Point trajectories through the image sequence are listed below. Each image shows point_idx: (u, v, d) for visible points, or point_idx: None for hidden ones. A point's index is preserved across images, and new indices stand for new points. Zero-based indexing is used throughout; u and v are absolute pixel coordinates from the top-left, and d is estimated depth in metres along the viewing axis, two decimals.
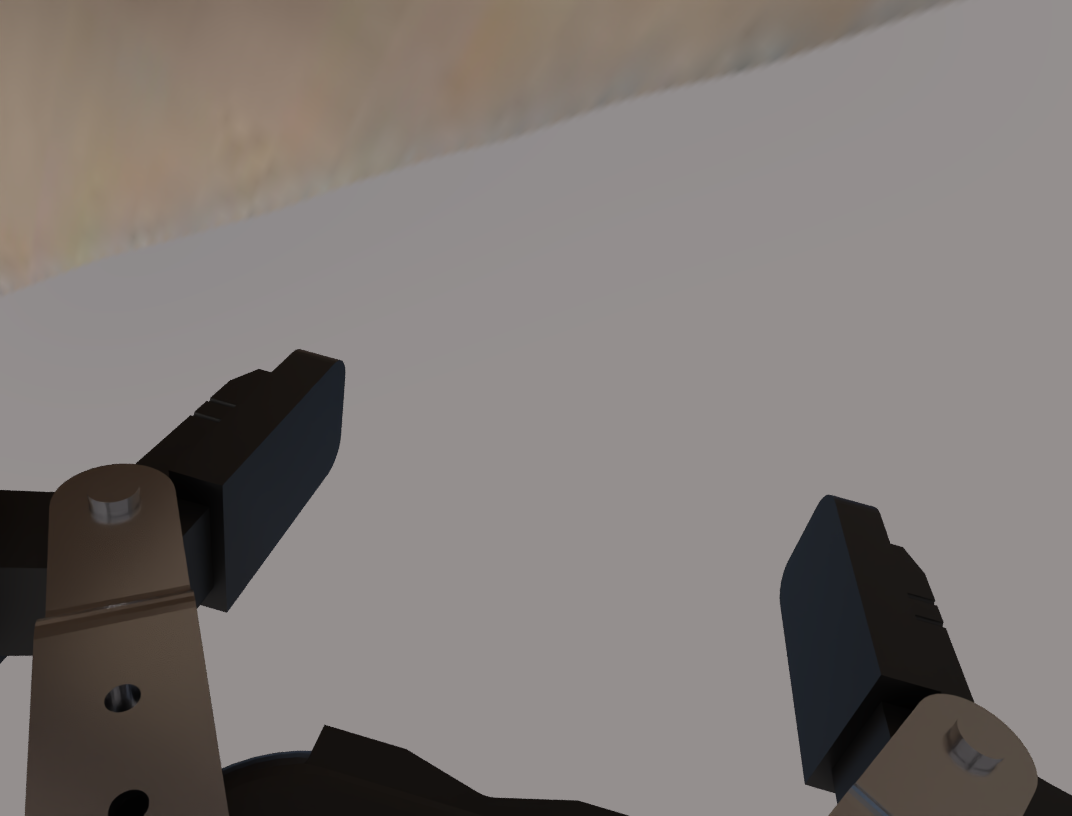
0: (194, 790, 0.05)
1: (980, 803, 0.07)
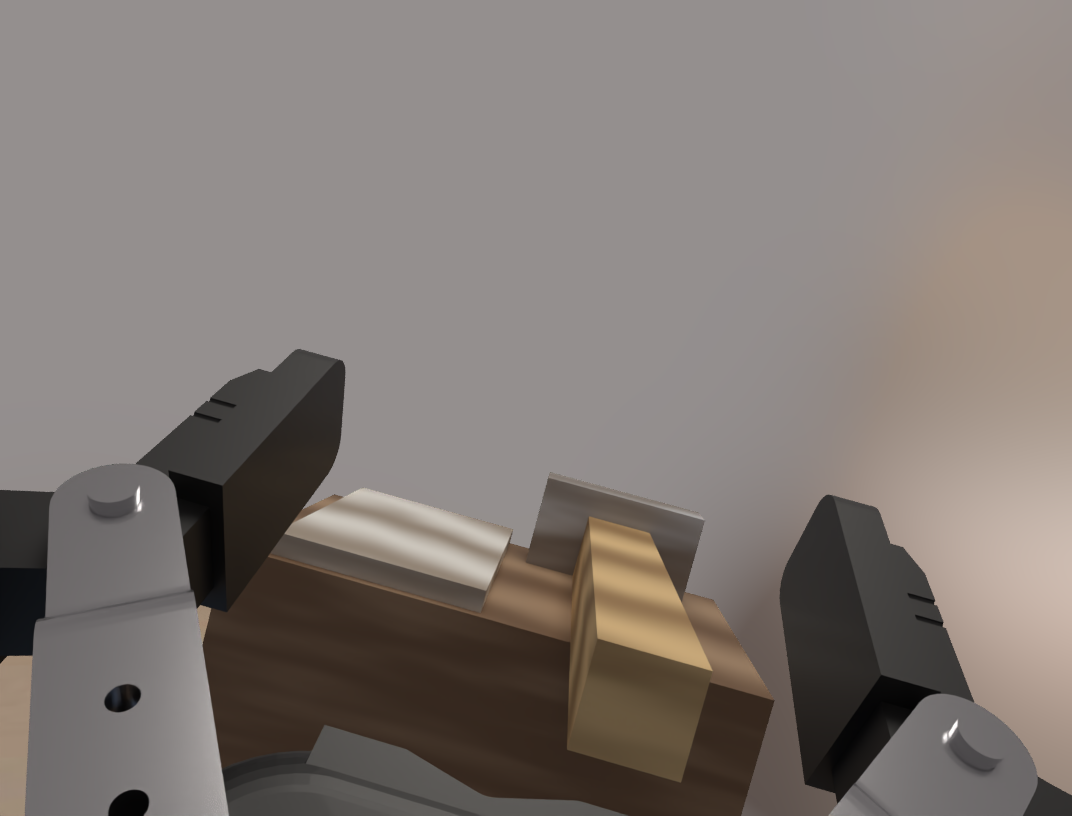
0: (195, 789, 0.05)
1: (980, 803, 0.07)
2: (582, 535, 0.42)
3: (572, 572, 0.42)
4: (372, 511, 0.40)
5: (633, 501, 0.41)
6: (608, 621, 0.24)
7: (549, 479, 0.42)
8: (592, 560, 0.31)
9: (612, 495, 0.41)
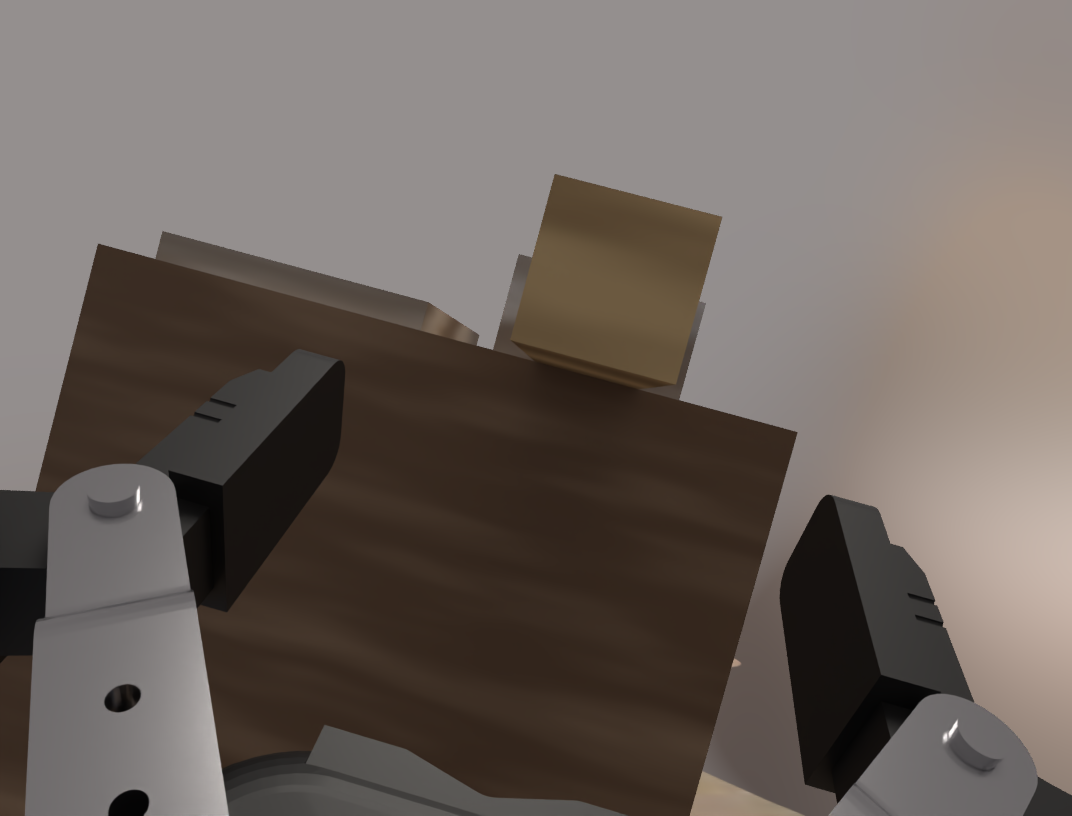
0: (195, 789, 0.05)
1: (979, 803, 0.07)
2: None
3: None
4: None
5: None
6: None
7: (520, 256, 0.35)
8: None
9: None
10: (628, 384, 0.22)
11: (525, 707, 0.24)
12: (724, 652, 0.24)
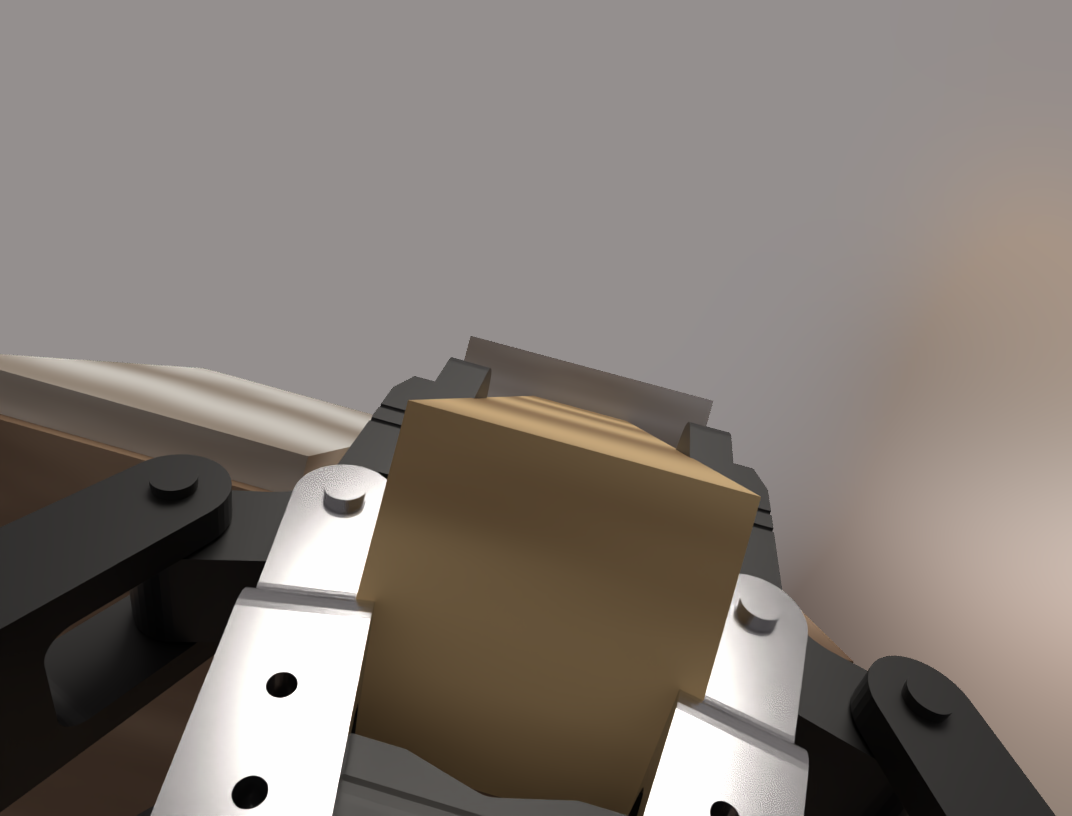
0: (307, 797, 0.05)
1: (745, 653, 0.08)
2: None
3: None
4: (186, 378, 0.25)
5: (602, 372, 0.27)
6: (475, 407, 0.09)
7: (472, 339, 0.27)
8: (506, 396, 0.17)
9: (569, 363, 0.27)
10: None
11: None
12: None
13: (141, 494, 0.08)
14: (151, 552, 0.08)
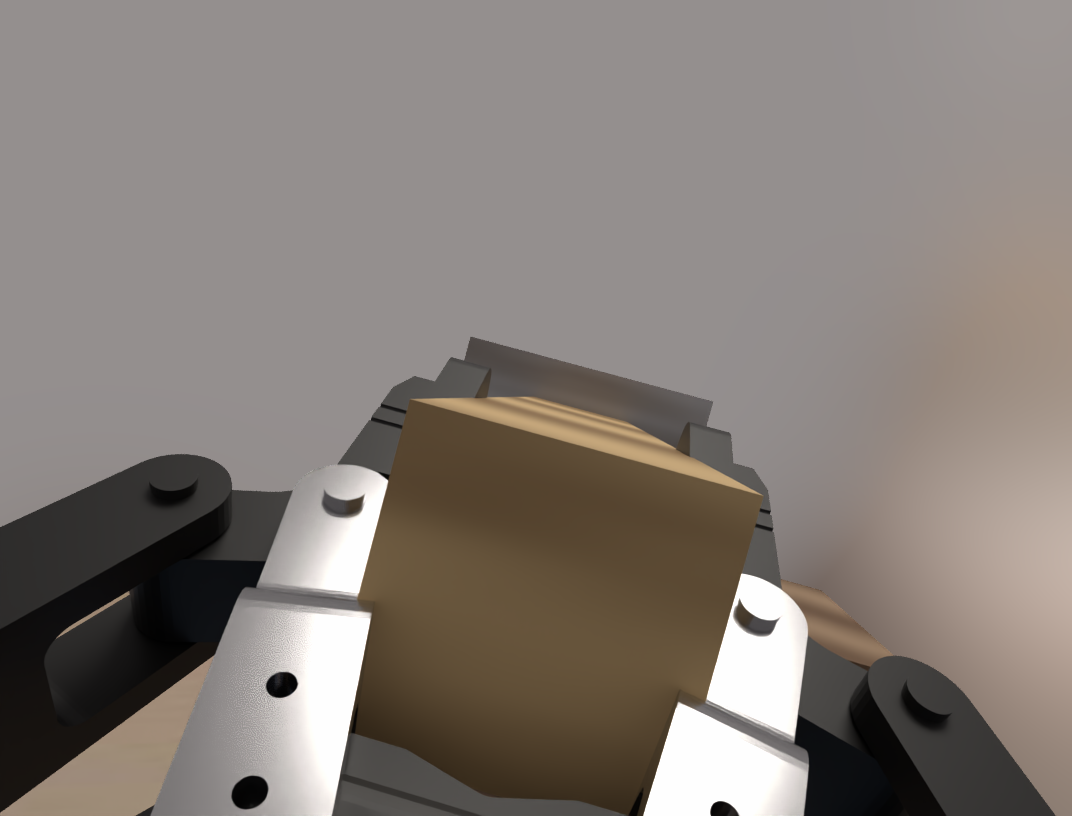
0: (307, 799, 0.05)
1: (745, 653, 0.08)
2: None
3: None
4: None
5: (602, 373, 0.27)
6: (477, 407, 0.09)
7: (472, 339, 0.27)
8: (506, 397, 0.17)
9: (569, 364, 0.27)
10: None
11: None
12: None
13: (141, 494, 0.08)
14: (150, 551, 0.08)
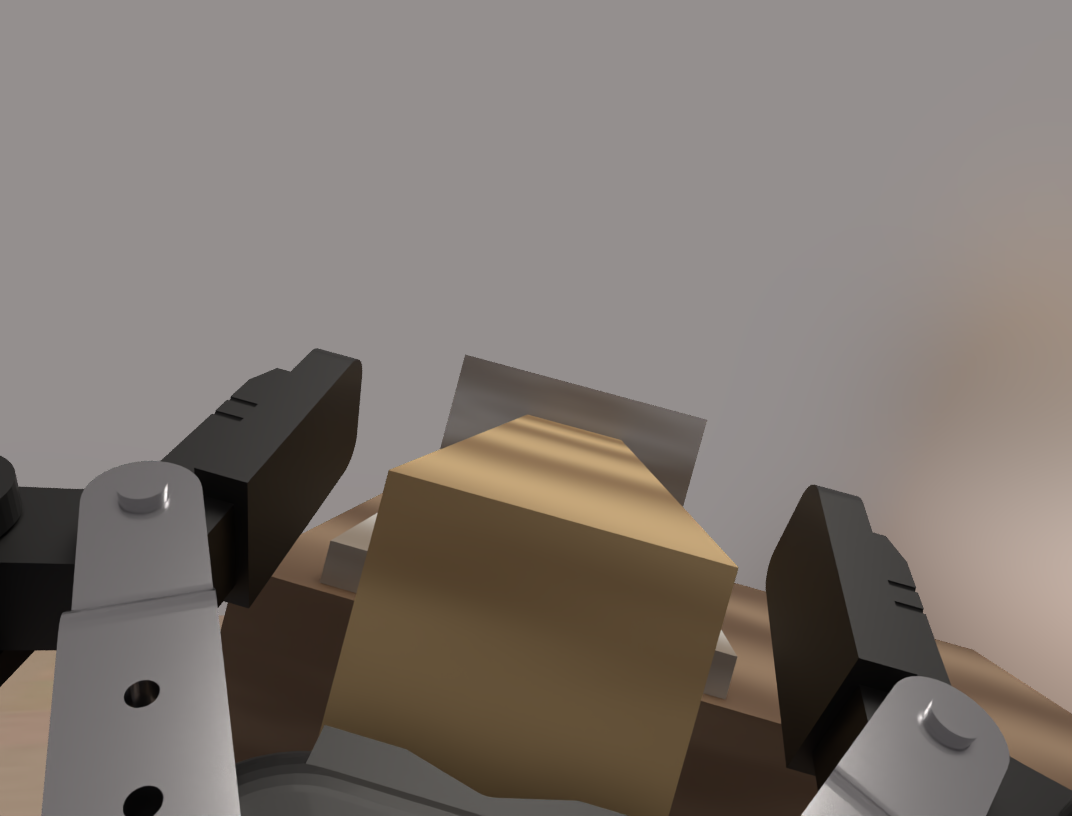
0: (207, 788, 0.05)
1: (951, 781, 0.07)
2: None
3: None
4: None
5: (596, 391, 0.27)
6: (460, 463, 0.09)
7: (467, 357, 0.27)
8: (497, 426, 0.17)
9: (564, 382, 0.27)
10: None
11: None
12: None
13: None
14: None
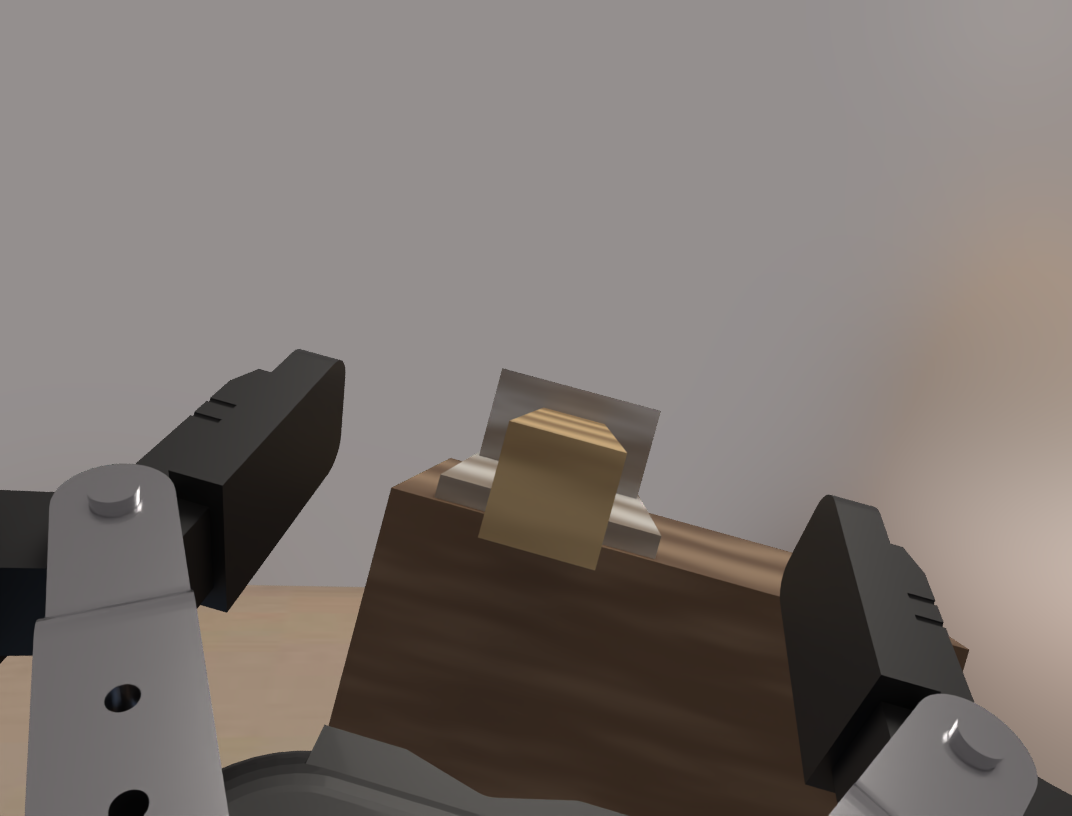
0: (195, 789, 0.05)
1: (980, 803, 0.07)
2: None
3: None
4: None
5: (588, 392, 0.41)
6: (527, 422, 0.23)
7: (503, 370, 0.41)
8: (531, 412, 0.31)
9: (567, 386, 0.41)
10: None
11: None
12: None
13: None
14: None
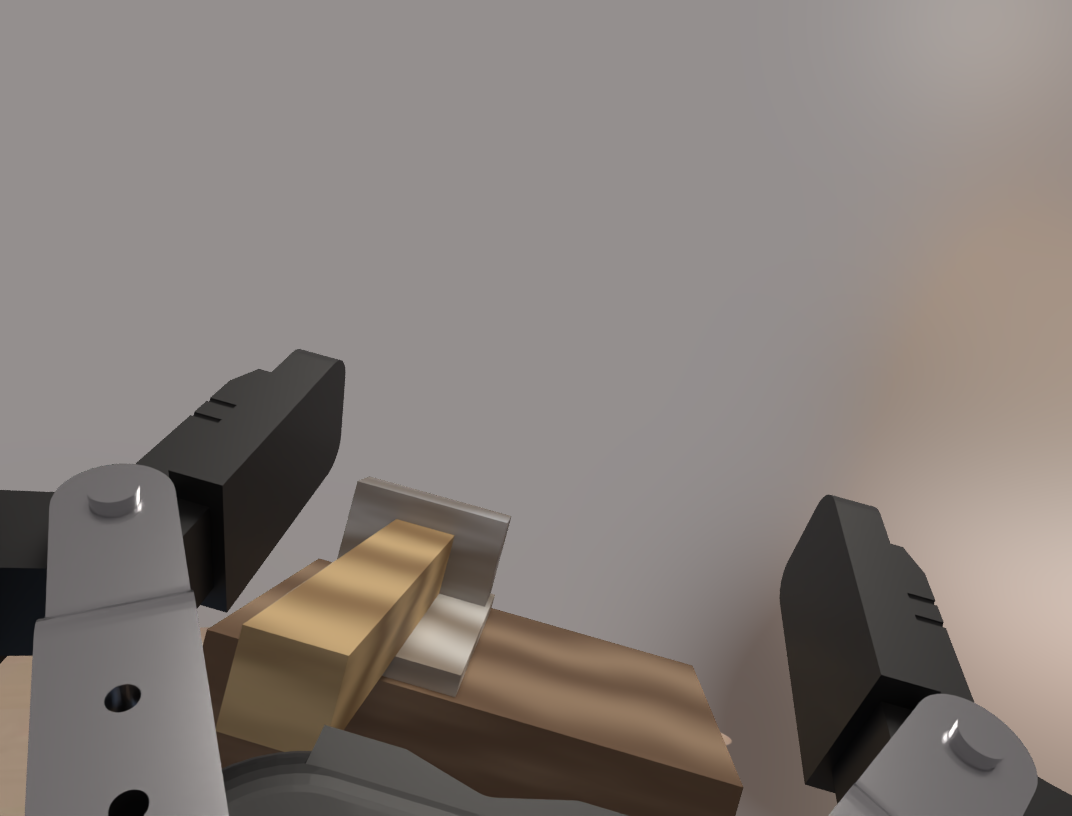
0: (195, 788, 0.05)
1: (980, 803, 0.07)
2: None
3: None
4: None
5: (439, 504, 0.43)
6: (279, 610, 0.25)
7: (358, 483, 0.43)
8: (340, 557, 0.33)
9: (419, 498, 0.43)
10: None
11: None
12: None
13: None
14: None
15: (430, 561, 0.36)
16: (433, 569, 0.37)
